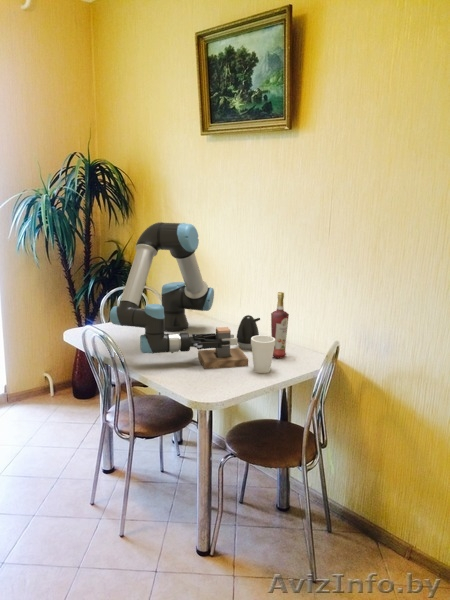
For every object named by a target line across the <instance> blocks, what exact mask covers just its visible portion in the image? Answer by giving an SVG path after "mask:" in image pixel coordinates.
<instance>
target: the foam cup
mask: <svg viewBox="0 0 450 600" xmlns="http://www.w3.org/2000/svg"><path fill="white" fill-rule="evenodd" d="M251 345H252V349H251V353H252V362H253V364H252V365H253V371H254V372H255V373H258V374H267V373H270V371H271V368H272V361H273V358H274V357H273V351H274V346H275V338H273V337H271V336H270V335H265V334H263V335H262V334H261V335H260V334H259V335H258V336H253V337H252V338H251Z"/></svg>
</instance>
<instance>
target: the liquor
mask: <svg viewBox="0 0 450 600" xmlns="http://www.w3.org/2000/svg"><path fill="white" fill-rule="evenodd" d="M284 298H285V292H284V291H283V292H282V291H281V292H280V291H279V292H277V304H276V309H275V310H274V311H273V312H271V313H270V321H271V322H270V323H271V324H270V325H271V326H270V327H271V330H270V331H271V337H273V338H275V346H274V351H273V357H272V358H275V359H283V358H285V356H287V352H286V348H287V334H288V328H289V327H288V326H289V313H288V312H287V311H285V310H284V309H285V308H284Z"/></svg>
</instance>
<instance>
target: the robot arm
mask: <svg viewBox="0 0 450 600" xmlns="http://www.w3.org/2000/svg"><path fill="white" fill-rule="evenodd" d="M198 233H199V232H198V230H197V228H196V227H195V226H194V224H191V223H185V222H182V223H181V222H180V223H179V222H162V221H159V222H155V223H153V224H151V225H149V226H148V227H146V228H145V230H144V231H143V232H141V234H140V235H139V237H138V239H137V241H136V242H135V243H136V244H135V247H134V250H135V255H134V257H133V261H132V265H131V268H130V271H129V274H128V277H127V281H126V282H125V286H124V289H123V291H122V292H123V293H122V295H121V298H120V302H119V305H115V306H112V307H111V309H110V311H109V321H110V323H111V324H112V325H116V326H122V327H135V328H142V329H143V328H144V334H141V335H140V337H139V338H140V340H139V347H140V353H142V354H152V355H153V354H161V353H162V354H163V353H171V354H173V353H178V352H179V351H180V352H181V353H182V352H189V351H190V349H191V348H195V349H196V350H210V349H216V348H222V346H229V345H230V346H238V343H237V337H235V334H234V333H231V335H230V339H221V340H216V332H215V333H214V332H213V333H192V335H191V336H190V333H189V332H183V331H186V330H188V329H189V322H188V318H187V315H186V310H190V311H200V312H205V311H206V312H207V311H210V310H211V309H212V307H213V304H214V299H215V289H214V288H213V287H209V286H208V283H207V282H206V281H204V279H203V277H202V273H201V270H200V267H199V264H198V259H197V256H196V253H195V252H196V251H197V249H198V246H199V244H200V243H199V240H200V239H199V234H198ZM161 250H164V251H169V253H170V256H172V258H174V259H176V262H177V265H178V267H179V271H180V274H181V276H182V279H183V281H174V282H169V283H165V284H163V285H162V286H161V304H159V303H150V304H149V303H148V304H146V305H145V306H144V308H140V307H139V306H140V303H141V302H140V301H141V299H142V295H143V293H144V289H145V285H146V283H147V280H148V276H149V273H150V269H151V266H152V263H153V260H154V257H156V256H157V255H158V252H159V251H161ZM165 332H167V333H165ZM169 332H170V333H169ZM171 332H172V333H171ZM178 332H179V333H178Z"/></svg>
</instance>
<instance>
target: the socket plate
mask: <svg viewBox="0 0 450 600" xmlns="http://www.w3.org/2000/svg"><path fill="white" fill-rule="evenodd" d="M215 349H216V348H213V349H199V350H198V349H197V350H198V351H197V352H198V353H197V355H198V356H197V357H198V360H199V362H200V363H201V365H202V367H203V369H204V370H211V369H213V370H214V369H224V368H226V369H227V368H228V369H229V368H238V367H239V368H240V367H241V368H243V367H249V358H248V357H247V355H246V354H245V353H244V352H243V351H242V348H241V347H235V348H234V347H233V348H231V347H230V357H222V358H217V357H216V355H215Z"/></svg>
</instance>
